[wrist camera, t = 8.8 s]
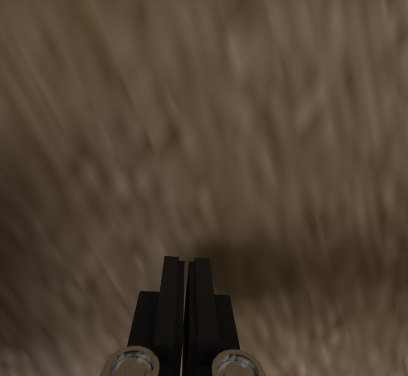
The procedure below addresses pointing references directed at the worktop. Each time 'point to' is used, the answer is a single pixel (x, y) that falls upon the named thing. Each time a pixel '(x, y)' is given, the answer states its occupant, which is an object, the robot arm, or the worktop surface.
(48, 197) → the worktop surface
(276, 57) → the worktop surface
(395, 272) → the worktop surface
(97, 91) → the worktop surface
